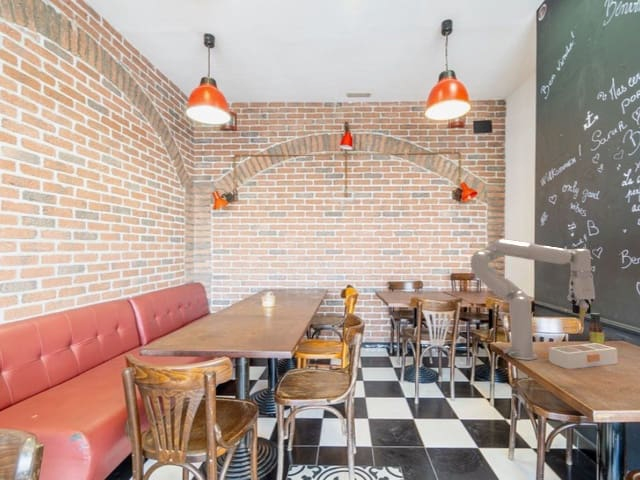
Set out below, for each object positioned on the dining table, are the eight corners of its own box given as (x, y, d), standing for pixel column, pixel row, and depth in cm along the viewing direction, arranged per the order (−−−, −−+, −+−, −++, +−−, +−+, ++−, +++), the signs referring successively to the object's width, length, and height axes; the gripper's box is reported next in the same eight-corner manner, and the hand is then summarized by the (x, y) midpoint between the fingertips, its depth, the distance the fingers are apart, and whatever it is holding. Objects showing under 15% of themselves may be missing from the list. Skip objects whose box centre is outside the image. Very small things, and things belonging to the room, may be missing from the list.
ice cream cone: (590, 329, 159) (589, 296, 159) (575, 327, 162) (574, 296, 162) (588, 327, 164) (588, 295, 164) (574, 325, 167) (573, 294, 167)
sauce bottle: (608, 353, 176) (606, 314, 176) (594, 353, 177) (592, 314, 178) (601, 350, 182) (598, 312, 183) (587, 349, 183) (585, 312, 184)
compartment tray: (569, 369, 155) (568, 354, 155) (549, 362, 165) (548, 347, 166) (619, 364, 160) (618, 348, 161) (596, 357, 171) (595, 343, 171)
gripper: (572, 275, 158) (573, 315, 158) (603, 274, 161) (604, 313, 161) (558, 274, 166) (559, 312, 165) (588, 273, 169) (589, 310, 168)
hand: (581, 312), depth 163 cm, fingers closed on ice cream cone, 5 cm apart
